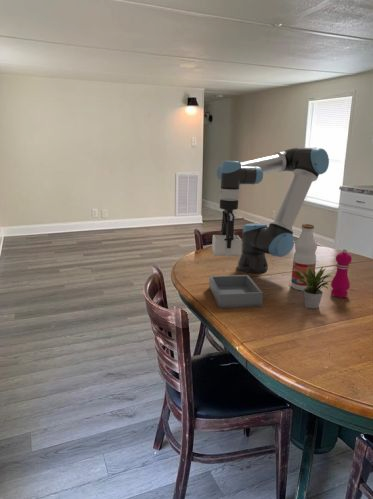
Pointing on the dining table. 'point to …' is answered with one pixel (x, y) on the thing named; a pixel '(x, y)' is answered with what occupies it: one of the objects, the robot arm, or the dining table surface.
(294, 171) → the robot arm
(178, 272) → the dining table surface
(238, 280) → the slate crate
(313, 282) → the house plant
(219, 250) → the white crate
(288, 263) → the dining table surface
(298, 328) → the dining table surface
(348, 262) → the pepper mill
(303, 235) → the fruit juice
